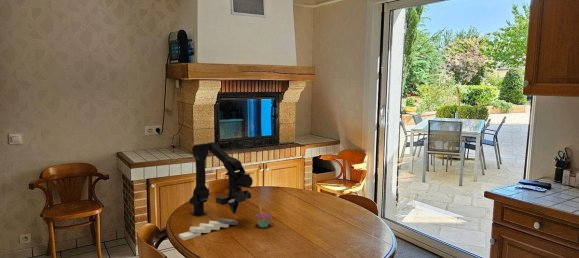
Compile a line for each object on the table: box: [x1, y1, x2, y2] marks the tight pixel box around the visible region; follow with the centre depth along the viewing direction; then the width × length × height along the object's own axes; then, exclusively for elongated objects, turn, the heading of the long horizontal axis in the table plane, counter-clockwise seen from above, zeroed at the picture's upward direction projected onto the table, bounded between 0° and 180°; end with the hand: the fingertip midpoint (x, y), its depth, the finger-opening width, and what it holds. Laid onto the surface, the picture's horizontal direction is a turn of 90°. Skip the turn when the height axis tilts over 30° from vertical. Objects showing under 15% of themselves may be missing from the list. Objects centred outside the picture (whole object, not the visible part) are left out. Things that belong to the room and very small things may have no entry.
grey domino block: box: [217, 217, 239, 226], centre depth 205 cm, size 2×5×9 cm
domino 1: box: [178, 230, 202, 241], centre depth 191 cm, size 2×5×9 cm
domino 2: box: [189, 226, 212, 234], centre depth 194 cm, size 2×5×9 cm
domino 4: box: [208, 220, 230, 228], centre depth 202 cm, size 2×5×9 cm
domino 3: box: [198, 222, 221, 231], centre depth 198 cm, size 2×5×9 cm
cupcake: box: [254, 204, 273, 228], centre depth 205 cm, size 9×8×12 cm
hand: (233, 213), depth 207 cm, fingers closed
